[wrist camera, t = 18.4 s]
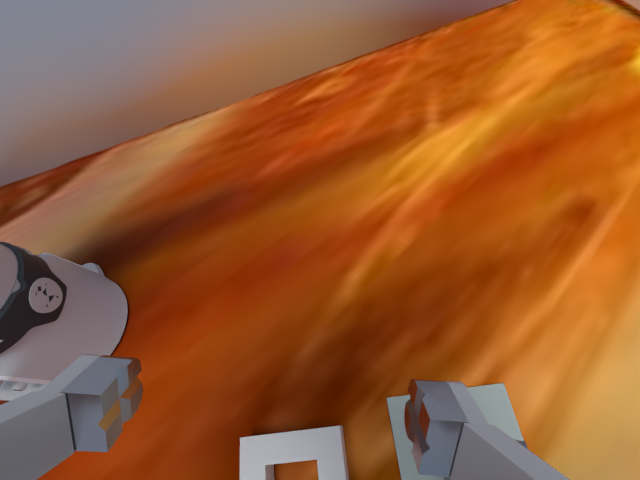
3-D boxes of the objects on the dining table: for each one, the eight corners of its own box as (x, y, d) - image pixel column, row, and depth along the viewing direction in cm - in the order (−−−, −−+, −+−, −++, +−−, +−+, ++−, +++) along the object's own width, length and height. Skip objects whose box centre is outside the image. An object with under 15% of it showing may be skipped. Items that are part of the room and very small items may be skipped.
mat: (414, 547, 29) (414, 548, 29) (386, 397, 35) (386, 397, 34) (555, 534, 28) (557, 536, 28) (502, 383, 34) (503, 382, 34)
